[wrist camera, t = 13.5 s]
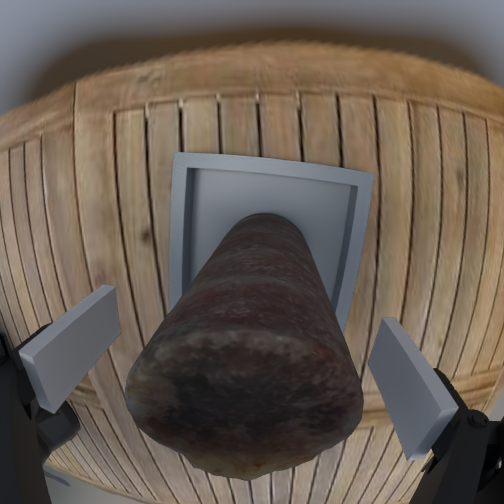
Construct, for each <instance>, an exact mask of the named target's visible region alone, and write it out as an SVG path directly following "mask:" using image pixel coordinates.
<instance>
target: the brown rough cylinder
mask: <svg viewBox="0 0 504 504" xmlns="http://www.w3.org/2000/svg"><path fill="white" fill-rule="evenodd" d="M125 400H126V406H127V408H128V411H129V412H130V413H131V414H132V415H133V417H134V419H135V421H136V423H137V424H138V426H139V428H140V429H141V430H142V431H143V432H145V433H146V434H147V435H148V436H149V437H150V438H152V439H153V440H154V441H156V442H158V443H159V444H161V445H164V446H166V447H168V448H170V449H172V450H174V451H176V452H178V453H181V454H183V455H184V456H185V457H186V458H187V460H188V461H189V462H190V463H191V465H192V466H193V467H194V468H198V469H202V470H203V471H205V472H208V473H210V474H212V475H215V476H222V477H226V478H237V479H241V480H245V481H248V480H253V479H256V478H258V477H261V476H263V475H265V474H268V473H271V472H273V471H282V470H285V469H289V468H292V467H295V466H298V465H300V464H302V463H305V462H308V461H311V460H313V459H314V458H315V457H316V456H317V455H318V454H320V453H321V452H323V451H324V450H326V449H330V448H332V447H333V446H335V445H336V444H338V443H339V442H341V441H342V440H344V439H346V438H348V437H349V436H350V435H351V434H352V433H353V431H354V430H355V428H356V427H357V426H358V424H359V423H360V421H361V418H362V412H363V404H364V399H363V391H362V387H361V383H360V379H359V376H358V374H357V371H356V369H355V366H354V363H353V361H352V358H351V355H350V352H349V349H348V346H347V343H346V341H345V338H344V336H343V333H342V331H341V328H340V325H339V323H338V320H337V317H336V315H335V312H334V309H333V307H332V304H331V302H330V300H329V297H328V295H327V292H326V289H325V287H324V284H323V282H322V279H321V277H320V274H319V272H318V269H317V266H316V264H315V261H314V259H313V256H312V254H311V251H310V249H309V247H308V244H307V242H306V240H305V238H304V236H303V234H302V233H301V231H300V230H299V229H298V228H297V227H296V226H295V225H294V224H293V223H292V222H291V221H289V220H287V219H286V218H284V217H281V216H279V215H276V214H271V213H257V214H252V215H249V216H247V217H245V218H243V219H241V220H240V221H238V222H237V223H236V224H235V225H234V226H233V227H232V228H231V229H230V231H229V232H228V233H227V234H226V235H225V237H224V238H223V239H222V241H221V242H220V244H219V245H218V247H217V248H216V250H215V251H214V252H213V254H212V255H211V257H210V258H209V259H208V261H207V262H206V263H205V265H204V266H203V267H202V269H201V270H200V271H199V272H198V274H197V276H196V277H195V279H194V280H193V281H192V283H191V284H190V285H189V286H188V287H187V288H186V290H185V291H184V293H183V294H182V296H181V298H180V299H179V300H178V302H177V303H176V305H175V306H174V308H173V309H172V310H171V311H170V313H169V314H168V315H167V316H166V318H165V319H164V320H163V322H162V323H161V325H160V326H159V328H158V329H157V331H156V332H155V334H154V335H153V337H152V338H151V340H150V341H149V343H148V344H147V345H146V347H145V348H144V349H143V351H142V352H141V354H140V355H139V357H138V359H137V360H136V362H135V363H134V365H133V367H132V368H131V370H130V372H129V374H128V377H127V380H126V388H125Z"/></svg>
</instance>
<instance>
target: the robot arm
mask: <svg viewBox="0 0 504 504" xmlns="http://www.w3.org/2000/svg"><path fill="white" fill-rule="evenodd" d="M120 334H121V332H120V324H119V315H118V306H117V295H116V287H115V286H110V285H104V284H103V285H102V286H100V287H99V288H98V289H96V290H95V291H94V292H92V293H91V294H90V295H88V296H87V297H86V298H84V299H83V300H82V301H80V302H79V303H78V304H76V305H75V306H74V307H73V308H71V309H70V310H69V311H67V312H66V313H65V314H63V315H62V316H61V317H60V318H58V319H57V320H56V321H55V322H52V323H49V324H47V325H44V326H42V327H41V328H40V329H38V330H37V331H36V332H35V333H33V334H32V335H31V336H30V338H27V339H26V340H25V341H23V342H22V343H21V344H20V345H19V346H17V347H16V348H15V349H14V350H13V351H11V348H10V345H9V342H8V339H7V336H6V335H5V334H4V333H2V332H0V504H52V503H51V500H50V496H49V493H48V488H47V485H46V480H45V476H44V472H43V467H42V466H43V465H44V463H45V462H46V460H47V459H48V457H49V456H50V454H51V453H52V452H53V451H54V450H56V449H57V448H59V447H60V446H62V445H63V444H65V443H66V442H67V441H69V440H72V439H73V438H74V437H75V435H76V434H77V432H78V431H79V422H78V419H77V417H76V415H75V414H74V412H73V410H72V409H71V408H70V406H69V405H68V404H67V403H66V401H65V400H66V398H67V397H68V396H69V395H70V393H71V392H72V391H73V390H74V389H75V387H76V386H77V385H78V384H79V382H80V381H81V380H82V379H83V378H84V376H85V375H86V374H87V373H88V371H89V370H90V369H91V368H92V367H93V365H94V364H95V363H96V362H97V361H98V360H99V358H100V357H101V356H102V355H103V354H104V352H105V351H106V350H107V349H108V348H109V347H110V345H111V344H112V343H113V342H114V341H115V340H116V338H117V337H118V336H119V335H120ZM368 366H369V368H370V370H371V372H372V375H373V377H374V379H375V382H376V384H377V386H378V389H379V391H380V393H381V396H382V398H383V401H384V403H385V405H386V408H387V410H388V413H389V415H390V418H391V420H392V423H393V425H394V428H395V430H396V433H397V435H398V438H399V441H400V443H401V446H402V449H403V451H404V454H405V457H406V459H407V461H411V460H416V459H421V458H424V457H425V456H426V454H427V453H428V452H429V450H430V449H432V451H433V453H434V456H433V457H432V458H431V459H430V461H429V462H428V463H427V464H426V465H425V467H424V468H423V469H422V470H421V472H424V470H425V469H426V470H425V472H424V475H423V477H422V479H421V481H420V483H419V485H418V487H417V489H416V491H415V493H414V495H413V497H412V499H411V500H410V502H409V504H504V417H503V418H502V420H501V421H489V419H488V417H487V416H486V415H485V414H484V413H482V412H480V411H478V410H474V409H472V410H469V409H468V407H467V406H466V404H465V403H464V401H463V400H462V398H461V397H460V395H459V394H458V392H457V391H456V390H454V387H453V385H452V384H450V381H449V380H448V378H447V377H446V375H445V374H444V373H442V372H441V371H440V370H438V369H437V368H432V367H431V365H430V364H429V363H428V361H427V360H426V358H425V357H424V356H423V354H422V353H421V351H420V350H419V349H418V347H417V346H416V345H415V343H414V342H413V340H412V339H411V338H410V336H409V335H408V334H407V332H406V331H405V330H404V328H403V327H402V326H401V324H400V323H399V322H398V320H397V319H396V318H384V317H382V320H381V324H380V327H379V330H378V333H377V337H376V340H375V343H374V346H373V349H372V352H371V355H370V358H369V361H368ZM500 461H502V462H501V468H499V462H500Z"/></svg>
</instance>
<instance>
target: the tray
mask: <svg viewBox="0 0 504 504" xmlns="http://www.w3.org/2000/svg"><path fill="white" fill-rule="evenodd" d="M373 178H374V174H373V173H368V172H362V171H357V170H351V169H345V168H339V167H333V166H326V165H320V164H312V163H305V162H297V161H289V160H281V159H271V158H261V157H251V156H239V155H225V154H208V153H186V152H174V161H173V174H172V189H171V208H170V236H169V310H170V311H171V310H172V309H173V308H174V306H175V305H176V303H177V302H178V300H179V299H180V298H181V296H182V294H183V293H184V291H185V290H186V288H187V287H188V286H189V285H190V284H191V283H192V281H193V280H194V279H195V277H196V276H197V274H198V272H199V271H200V270H201V269H202V267H203V266H204V265H205V263H206V262H207V261H208V259H209V258H210V257H211V255H212V254H213V252H214V251H215V250H216V248H217V247H218V245H219V244H220V242H221V241H222V239H223V238H224V237H225V235H226V234H227V233H228V232H229V231H230V229H231V228H232V227H233V226H234V225H235V224H236V223H237V222H238V221H240V220H241V219H243V218H245V217H247V216H249V215H252V214H257V213H271V214H276V215H279V216H281V217H284V218H286V219H287V220H289V221H291V222H292V223H293V224H294V225H295V226H296V227H297V228H298V229H299V230H300V231H301V233H302V234H303V236H304V238H305V240H306V242H307V244H308V247H309V249H310V251H311V254H312V256H313V259H314V261H315V264H316V266H317V269H318V272H319V274H320V277H321V279H322V282H323V284H324V287H325V289H326V292H327V295H328V297H329V300H330V302H331V304H332V307H333V309H334V312H335V315H336V317H337V320H338V323H339V325H340V328H341V331H342V333H343V332H344V329H345V325H346V321H347V317H348V313H349V309H350V305H351V301H352V297H353V292H354V288H355V284H356V279H357V274H358V270H359V265H360V260H361V255H362V249H363V244H364V239H365V233H366V227H367V221H368V215H369V208H370V201H371V194H372V186H373Z"/></svg>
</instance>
